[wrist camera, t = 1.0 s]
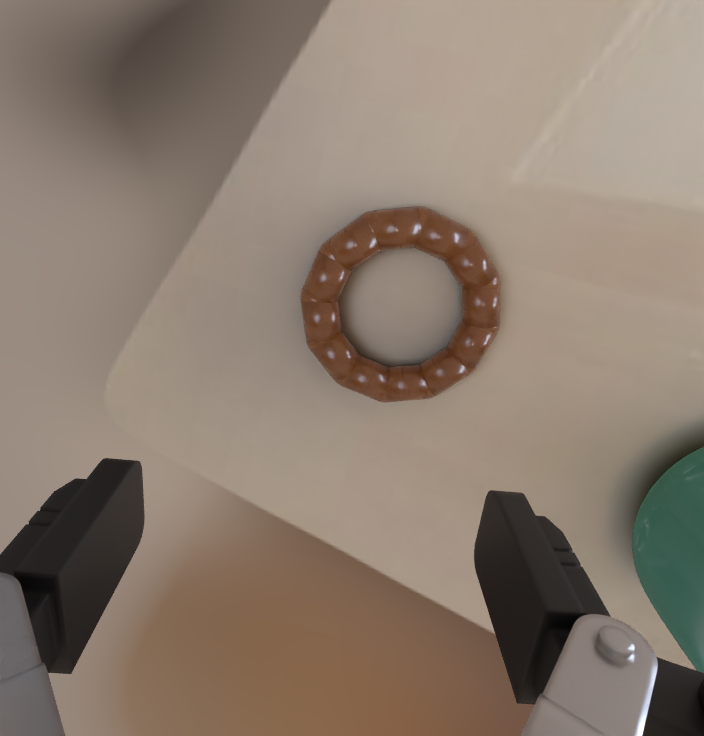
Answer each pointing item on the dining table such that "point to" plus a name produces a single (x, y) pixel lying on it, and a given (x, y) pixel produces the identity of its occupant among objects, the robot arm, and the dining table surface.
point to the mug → (675, 552)
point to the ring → (397, 233)
